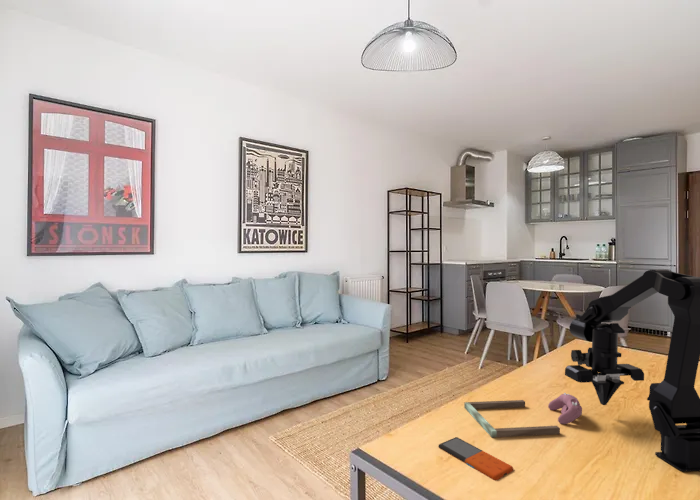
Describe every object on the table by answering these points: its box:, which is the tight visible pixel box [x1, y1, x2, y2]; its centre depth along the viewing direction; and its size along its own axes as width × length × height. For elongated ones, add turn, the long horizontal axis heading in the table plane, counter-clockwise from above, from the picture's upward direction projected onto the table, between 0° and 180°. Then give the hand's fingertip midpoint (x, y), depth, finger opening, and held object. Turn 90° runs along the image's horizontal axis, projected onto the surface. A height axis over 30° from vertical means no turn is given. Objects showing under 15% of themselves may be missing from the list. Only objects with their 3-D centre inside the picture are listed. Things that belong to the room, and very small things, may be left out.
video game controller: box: [547, 392, 583, 425], centre depth 103 cm, size 10×5×7 cm, turn 169°
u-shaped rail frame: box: [463, 399, 561, 438], centre depth 101 cm, size 16×17×2 cm
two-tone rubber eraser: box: [438, 436, 514, 481], centre depth 84 cm, size 6×1×15 cm
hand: (603, 404), depth 104 cm, fingers closed
